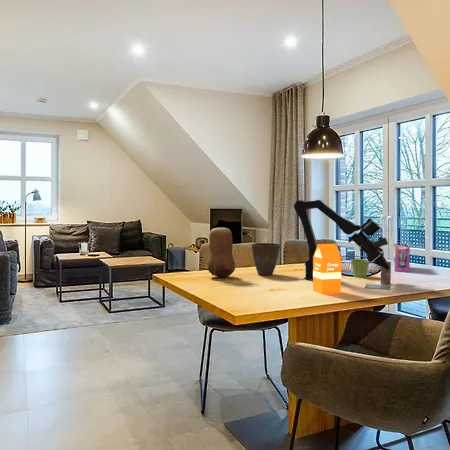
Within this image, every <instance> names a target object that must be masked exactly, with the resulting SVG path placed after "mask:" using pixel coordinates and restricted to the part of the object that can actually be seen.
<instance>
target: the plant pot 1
mask: <svg viewBox="0 0 450 450" xmlns="http://www.w3.org/2000/svg"><path fill="white" fill-rule="evenodd" d="M280 248H281V244H280V243H274V242H273V243H272V242H271V243H269V242H268V243H266V242H256V243H255V242H253V243H251V250H252V251H251V252H252V258H253V262H254V266H255V269H256V272H257V275H258V276H267V277H268V276H273V273H274V272H275V270H276V269H275V268H276V266H277V262H278V259H279V254H280Z"/></svg>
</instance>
